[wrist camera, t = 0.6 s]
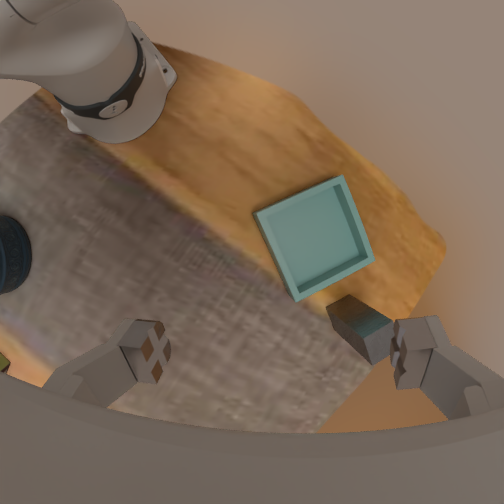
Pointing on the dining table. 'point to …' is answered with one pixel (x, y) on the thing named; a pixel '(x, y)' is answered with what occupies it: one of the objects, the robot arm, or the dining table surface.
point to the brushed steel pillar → (362, 328)
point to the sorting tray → (315, 237)
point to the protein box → (4, 364)
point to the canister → (13, 255)
